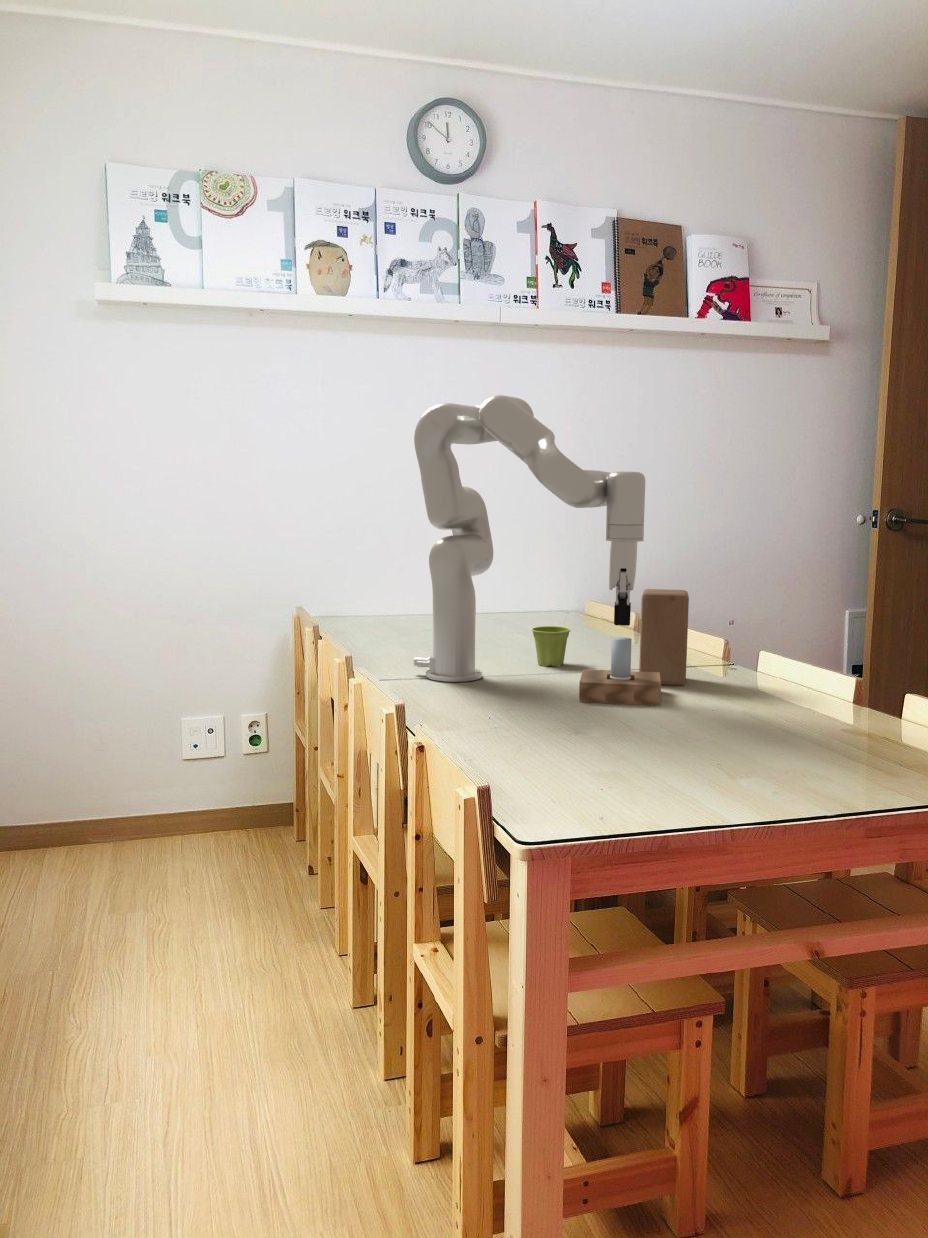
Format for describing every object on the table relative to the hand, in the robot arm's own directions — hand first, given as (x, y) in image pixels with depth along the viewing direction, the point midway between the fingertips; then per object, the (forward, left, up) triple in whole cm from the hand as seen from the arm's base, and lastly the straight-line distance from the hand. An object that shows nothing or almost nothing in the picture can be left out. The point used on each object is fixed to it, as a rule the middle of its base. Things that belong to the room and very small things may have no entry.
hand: (622, 622), depth 207 cm
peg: (0, 0, -15) cm, 15 cm away
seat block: (0, 0, -15) cm, 15 cm away
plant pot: (-17, +33, -16) cm, 40 cm away
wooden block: (+9, +18, -16) cm, 25 cm away
